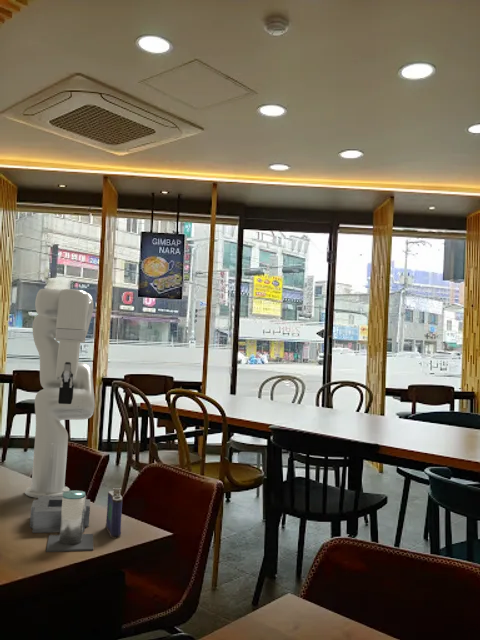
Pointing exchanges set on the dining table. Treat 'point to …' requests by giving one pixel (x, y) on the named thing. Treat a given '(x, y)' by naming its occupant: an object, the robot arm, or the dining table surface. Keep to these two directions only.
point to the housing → (51, 514)
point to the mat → (82, 546)
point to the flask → (114, 513)
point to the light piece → (72, 517)
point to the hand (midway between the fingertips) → (65, 401)
